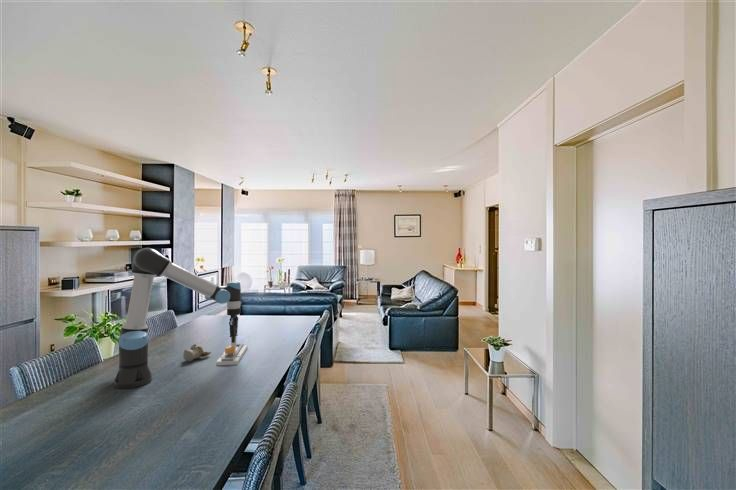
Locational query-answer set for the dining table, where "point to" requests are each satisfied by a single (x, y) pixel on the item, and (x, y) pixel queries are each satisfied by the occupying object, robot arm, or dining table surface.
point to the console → (235, 357)
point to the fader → (230, 351)
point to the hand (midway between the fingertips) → (233, 347)
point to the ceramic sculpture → (194, 353)
